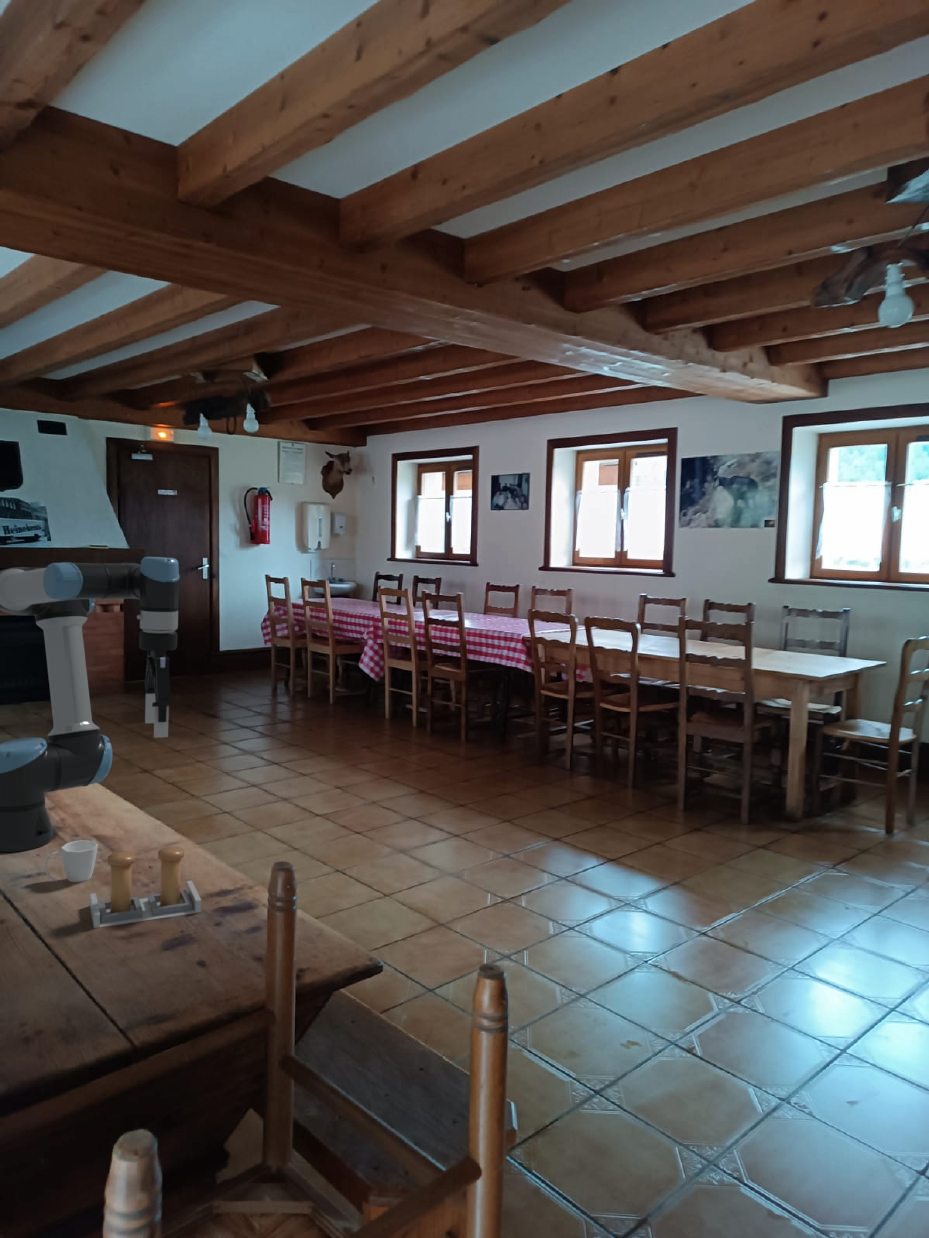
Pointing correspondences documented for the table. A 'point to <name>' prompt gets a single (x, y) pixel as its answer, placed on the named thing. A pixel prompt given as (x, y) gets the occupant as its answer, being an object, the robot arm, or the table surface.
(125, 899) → the rounded wooden peg
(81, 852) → the cup
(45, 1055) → the table surface
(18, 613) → the robot arm
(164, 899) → the tan ball-headed post
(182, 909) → the tray
